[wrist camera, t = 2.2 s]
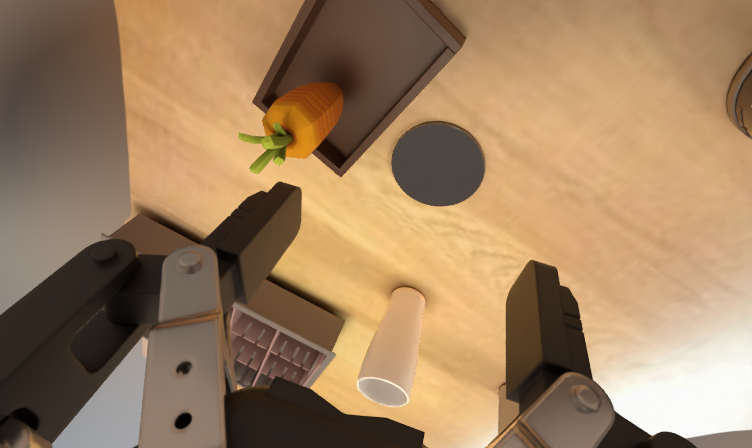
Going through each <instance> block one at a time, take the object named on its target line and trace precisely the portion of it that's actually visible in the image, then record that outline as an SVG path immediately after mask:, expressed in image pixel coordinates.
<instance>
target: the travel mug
mask: <svg viewBox="0 0 752 448" xmlns="http://www.w3.org/2000/svg"><path fill="white" fill-rule="evenodd" d="M518 414H519V403H516V402H513V401H510V400H508V399H506V384H505V385H503V386H502V387H501V388H500V390H499V421H498V434H499V433H500V432H501V431H502V430H503V429H504V428H505V427H506V426H507V425H508V424H509V423H510V422H511V421H512V420H513V419H514V418H515V417H516V416H517V415H518Z"/></svg>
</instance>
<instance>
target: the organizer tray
mask: <svg viewBox="0 0 752 448" xmlns="http://www.w3.org/2000/svg"><path fill="white" fill-rule="evenodd" d="M101 237H102V241H103V240H109V239H122V240H126V241H128V242H130V243H132V244H133V245H134V247H135V249H136V252H137V254H148V255H169V254H170V253H172V252H173V251H175V250H177V249H179V248H181V247H184V246H188V245H199V244H197V243H195V242H193V241H191V240H189V239H187V238H185V237H184V236H182V235H180V234H178V233H176V232H174V231H172V230H170V229H168V228H166V227H164V226H163V225H161V224H159V223H157V222H155V221H153V220H151V219H149V218H147V217H145V216H143V215H141V214H138V215H137V216H136V217H134V218H133V219H132V220H130V221H129V222H128V223H126V224H125V225H123V226H122V227H121V228H120V229H118V230H117V231H115V232H114V233H113V234H111V235H110V236H107V235H105V234H103V233H102V234H101ZM229 315H230V327H231V338H232V350H233V362H234V370H235V376H236V383H237V385H239V386H241V387H243V388H247V387H252V386H264V385H266V386H270V385H271V384H272V382H273V380H274V378H275V376H277V377H280V378H283V379H285V380H288V381H291V382H293V383H296V384H299V385H301V386H304V387H306V388H310V387H311V386H312V385H313V383H314V382H315V381H316V380H317V378H318V377H319V376H320V375H321V373H322V372H323V371H324V370H325V368H326V367H327V366H328V365H329V363H330V362H331V361H332V360H333V358H334V357H335V356H336V354H335V353H333V352H332V350H333V347H334V345H335V343H336V341H337V338H338V336H339V334H340V331H341V329H342V327H343V324H344V322H345V321H344V320H342V319H340V318H338V317H337V316H335V315H333V314H331V313H329V312H327V311H325V310H323V309H321V308H319V307H317V306H315V305H314V304H312V303H310V302H308V301H306V300H304V299H302V298H300V297H298V296H296V295H294V294H293V293H291V292H289V291H287V290H285V289H283V288H281V287H279V286H277V285H275V284H273V283H272V282H270V281H268V280H266V279H265V280H264V282H263V283H262V285H261V286H260V287H259V289H258V290H257V292H256V293H255V294H254V296H253V297H252V299H251V300H250V301H249V303H248V304H247V305H245V304H242V303H240V302H237V301H235V302H234V304H233V305H232V306H231V308H230V309H229ZM152 326H154V325H152ZM152 326H151V327H152ZM151 327H150V328H149V329H148V330H147V331H146V333H145V334H144V335H143V336H142V337H143V338H145V339H147V340H148V338H149V332H150V329H151Z"/></svg>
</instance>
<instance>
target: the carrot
mask: <svg viewBox="0 0 752 448" xmlns="http://www.w3.org/2000/svg"><path fill="white" fill-rule="evenodd" d="M343 103H344V100H343V91H342V88H341V87H340V86H339V85H337V84H336V83H331V82H314V83H309V84H305V85H302V86H299V87H297V88H295V89H293V90H292V91H290V92H288V93H286V94H285V95H283V96H282V97H280V98H278V99H277V100H276V101H275V102H274V103H273V104H272V106H271V107H270V109H269V110H268V112H267V113H266V115H265V116H264V117H263V119H262V122H263V126H264V129H265V133H266V136H265V137H259V136H250V135H246V134H242V133H239V138H240V140H242V141H245V142H248V143H252V144H260V143H262V145H263V147H264V148H265V149H268V150H266V151H265V152H264V153H263V154H262V155H261V156H260V157H259V158H258V159H257V160H256V161H255V162H254V163H253V164H252V165H251V167H250V168H249V169H250V171H252V172H253V173H255V174H259V173H260V172H261V171H262V170H263V168H264V167H265V166H266V165H267V164H268V163H269V161H270V160H271V159H272V158H273V157H274V159H273V162H274V163H275V164H277V165H281V164H282V163H283V162H284V161H285V157H294V158H303V159H304V158H307V157H308V156H309V155H310V154H311V153H312V152H313V151H314V150H315V149H316V148H317V146H318V145H319V144H320V143H321V142H322V141H323V140H324V139H325V137H326V136H327V135H328V134H329V133H330V131H331V130H332V129H333V127H334V126H335V125H336V124H337V122H338V120H339V117H340V115H341V113H342V110H343Z"/></svg>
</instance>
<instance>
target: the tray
mask: <svg viewBox="0 0 752 448" xmlns="http://www.w3.org/2000/svg"><path fill="white" fill-rule="evenodd" d="M465 39H466V38H465V37H464V36H463V35H462V34H461V32H460V31H459V30H458V29H457V28H456V27H455V26H454V25H453V24H452V23H451V22H450V21H449V20H448V18H447V17H446V16H445V15H444V14H443V13H442V12H441V11H440V10H439V9H438V8H437V7H436V6H435V4H434V3H433V2H432V1H431V0H305V2H304V3H303V5H302V7H301V9H300V11H299V13H298V15H297V17H296V19H295V21H294V23H293V25H292V27H291V28H290V30H289V32H288V34H287V36H286V38H285V40H284V42H283V44H282V46H281V48H280V50H279V51H278V53H277V55H276V57H275V59H274V61H273V63H272V65H271V67H270V69H269V71H268V73H267V75H266V76H265V78H264V80H263V82H262V84H261V86H260V88H259V90H258V92H257V94H256V96H255V98H254V100H253V101H252V103H254V104H255V105H256V106H257V107H258V108H259V109H261V110H262V111H263V112H264V113H265V114H266V113H267V112H268V110H269V109H270V107H271V106H272V104H273V103H274V102H275V101H276V100H277V99H278V98H280V97H282V96H283V95H285V94H286V93H288V92H290V91H292V90H293V89H295V88H297V87H299V86H302V85H305V84H309V83H314V82H331V83H336V84H337V85H339V86H340V87H341V88H342V91H343V100H344V103H343V110H342V113H341V115H340V117H339V120H338V122H337V124H336V125H335V126H334V127H333V129H332V130H331V131H330V133H329V134H328V135H327V136H326V137H325V139H324V140H323V141H322V142H321V143H320V144H319V145H318V146H317V148H316V149H315V150H314V151H313V152H312V153H313V154H314V155H315V156H316V157H317V158H318V159H320V160H321V161H322V162H323V163H324V164H326V165H327V166H328V167H329V168H330V169H331V170H333V171H334V172H335V173H336V174H337V175H339V176H340V177H342V176H343V175H344V174H345V173H346V172H347V171H348V169H349V168H350V167H351V166H352V165H353V164H354V163H355V162H356V161H357V160H358V159H359V158H360V157H361V155H362V154H363V153H364V152H365V151H366V150H367V149H368V148H369V147H370V146H371V145H372V144H373V142H374V141H375V140H376V139H377V138H378V137H379V136H380V135H381V134H382V133H383V132H384V131H385V130H386V128H387V127H388V126H389V125H390V124H391V123H392V122H393V121H394V120H395V119H396V118H397V117H398V116H399V114H400V113H401V112H402V111H403V110H404V109H405V108H406V107H407V106H408V105H409V104H410V103H411V102H412V100H413V99H414V98H415V97H416V96H417V95H418V94H419V93H420V92H421V91H422V90H423V89H424V87H425V86H426V85H427V84H428V83H429V82H430V81H431V80H432V79H433V78H434V77H435V76H436V75H437V73H438V72H439V71H440V70H441V69H442V68H443V67H444V66H445V65H446V64H447V63H448V62H449V61H450V59H451V58H452V57H453V56H454V55H455V54H456V53H457V52H458V51H459V50H460V49H461V48H462V46H463V43H464V41H465Z"/></svg>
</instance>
